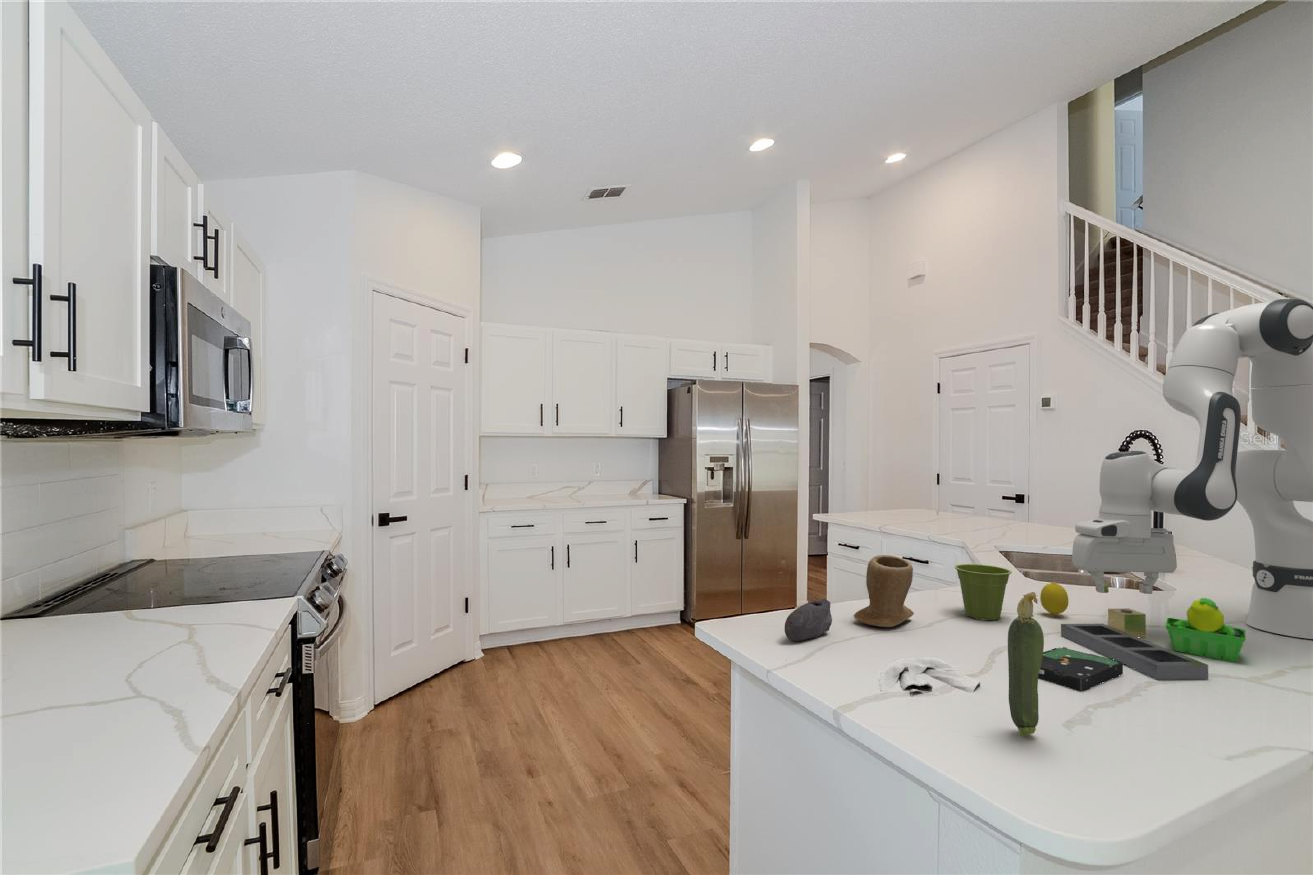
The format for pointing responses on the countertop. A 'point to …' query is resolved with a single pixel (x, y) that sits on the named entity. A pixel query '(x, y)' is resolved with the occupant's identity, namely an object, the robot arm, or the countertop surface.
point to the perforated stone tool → (808, 620)
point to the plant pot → (982, 589)
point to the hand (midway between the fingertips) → (1123, 592)
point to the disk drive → (1077, 668)
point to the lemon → (1054, 598)
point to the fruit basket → (1205, 633)
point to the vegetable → (1024, 666)
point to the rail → (1135, 652)
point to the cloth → (910, 667)
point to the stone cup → (887, 591)
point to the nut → (1128, 621)
